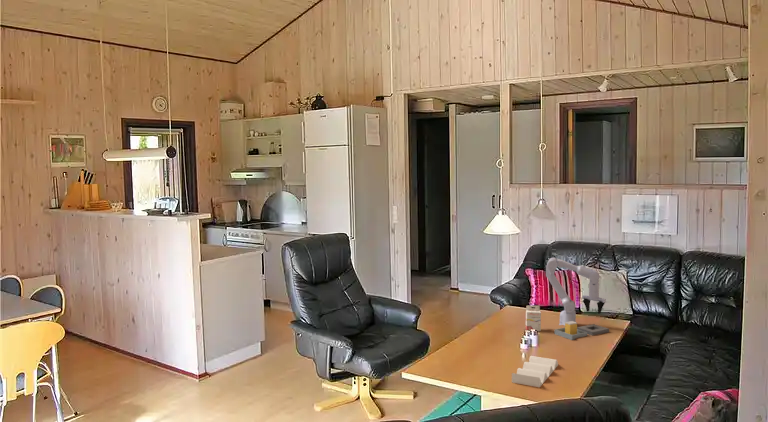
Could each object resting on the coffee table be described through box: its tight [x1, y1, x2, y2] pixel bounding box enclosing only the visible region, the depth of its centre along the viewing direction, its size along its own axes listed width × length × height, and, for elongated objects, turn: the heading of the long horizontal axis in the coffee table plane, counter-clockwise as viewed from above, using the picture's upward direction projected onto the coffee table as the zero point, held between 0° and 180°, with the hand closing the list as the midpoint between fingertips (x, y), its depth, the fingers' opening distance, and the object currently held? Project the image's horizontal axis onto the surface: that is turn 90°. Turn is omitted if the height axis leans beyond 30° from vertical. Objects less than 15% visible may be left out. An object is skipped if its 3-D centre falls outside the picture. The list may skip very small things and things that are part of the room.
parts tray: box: [554, 327, 588, 341], centre depth 355 cm, size 14×12×3 cm
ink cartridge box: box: [525, 305, 542, 332], centre depth 367 cm, size 9×5×15 cm, turn 84°
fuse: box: [564, 321, 578, 335], centre depth 355 cm, size 4×6×7 cm
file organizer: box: [511, 355, 559, 388], centre depth 293 cm, size 13×35×5 cm, turn 150°
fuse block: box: [577, 323, 610, 336], centre depth 361 cm, size 12×14×3 cm
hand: (593, 312), depth 369 cm, fingers open, 7 cm apart
